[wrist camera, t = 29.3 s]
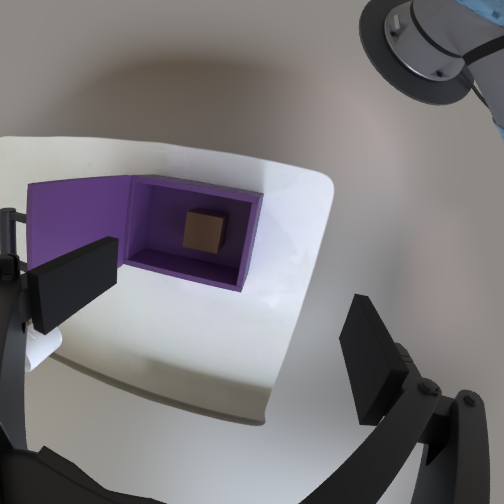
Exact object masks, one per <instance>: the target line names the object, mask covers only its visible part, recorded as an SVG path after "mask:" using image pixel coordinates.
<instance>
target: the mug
mask: <svg viewBox="0 0 504 504" xmlns="http://www.w3.org/2000/svg"><path fill="white" fill-rule="evenodd" d="M27 327H28V332H27V342H26V355H25V372H30V371H32V370H33V369H34V368H35V367H36V366H37V365H38V364H40V363H41V362H42V361H43V360H44V359H45V358H46V357H48V356H49V355H50V354H51V353H52V352H53V351H55V350H56V349H57V348H58V347H59V346H60V345H61V343H62V335H61V332H60V330H59V328H58V327H56V328H55V329H53V330H52V331H51V332H49V333H48V334H47V335H43V334H41V333H40V332H38V331H36V330H34V327H33V323H32V324H30V325H29V326H27Z"/></svg>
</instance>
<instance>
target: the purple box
mask: <svg viewBox="0 0 504 504" xmlns="http://www.w3.org/2000/svg"><path fill="white" fill-rule="evenodd" d="M263 196H264V194H262V193H258V192H252V191H247V190H242V189H237V188H232V187H226V186H221V185H215V184H209V183H204V182H198V181H192V180H186V179H180V178H173V177H167V176H160V175H131V181H130V189H129V197H128V206H127V215H126V226H125V237H124V252H123V264H126V265H130V266H134V267H137V268H141V269H145V270H149V271H153V272H157V273H161V274H165V275H169V276H173V277H177V278H181V279H185V280H189V281H193V282H198V283H202V284H206V285H210V286H215V287H219V288H223V289H228V290H232V291H237V292H241V291H242V288H243V286H244V283H245V280H246V278H247V275H248V271H249V266H250V261H251V256H252V251H253V246H254V241H255V236H256V231H257V226H258V221H259V216H260V211H261V206H262V201H263ZM197 207H199V208H204V209H209V210H214V211H219V212H224V213H229V220H228V226H227V231H226V237H225V243H224V246H223V247H222V249H221V250H220V251H219V252H218V253H217V254H214V253H209V252H205V251H200V250H196V249H191V248H187V247H183V238H184V231H185V224H186V217H187V211H190V210H192V209H195V208H197Z"/></svg>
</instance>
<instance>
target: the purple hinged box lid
mask: <svg viewBox="0 0 504 504" xmlns="http://www.w3.org/2000/svg"><path fill="white" fill-rule="evenodd" d="M130 181H131V176H129V175H119V176H103V177H89V178H77V179H66V180H56V181H47V182H38V183H30V184H28V190H27V212H26V214H22V213H18V212H16V209H15V208H2V209H0V253H1V254H5V253H12V254H16V255H17V251H16V221H18V222H22V223H26V243H27V263H25V262H22V261H20V260H19V262H20V270H21V271H24V272H27V271H29V270H31V269H33V268H35V267H37V266H39V265H42V264H44V263H46V262H48V261H50V260H53V259H55V258H57V257H59V256H62V255H64V254H66V253H69V252H71V251H73V250H75V249H78V248H80V247H83V246H85V245H87V244H90V243H92V242H94V241H97V240H99V239H102V238H104V237H107V236H110V237H114V238H118V239H119V245H118V262H117V268H119V267H120V266H122V265H123V252H124V237H125V226H126V215H127V206H128V197H129V189H130Z"/></svg>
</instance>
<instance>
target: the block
mask: <svg viewBox="0 0 504 504" xmlns="http://www.w3.org/2000/svg"><path fill="white" fill-rule="evenodd" d="M228 220H229V213H224V212H219V211H214V210H209V209H204V208H199V207H197V208H195V209H192V210H190V211H187V217H186V224H185V231H184V238H183V247H187V248H191V249H196V250H200V251H205V252H209V253H214V254H217V253H218V252H219V251H220V250H221V249H222V247H223V246H224V243H225V237H226V231H227V226H228Z"/></svg>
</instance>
